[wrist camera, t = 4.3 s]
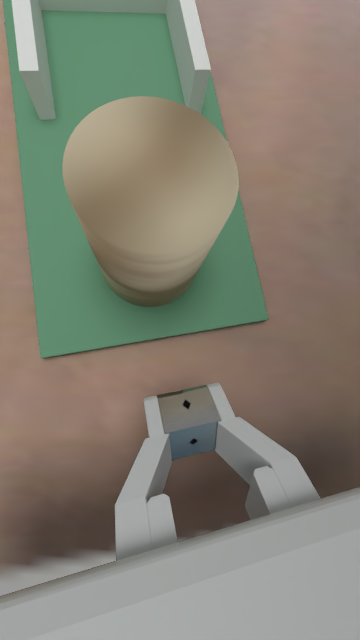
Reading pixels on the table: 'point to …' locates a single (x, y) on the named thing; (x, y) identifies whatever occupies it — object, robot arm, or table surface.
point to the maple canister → (149, 193)
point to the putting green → (49, 146)
